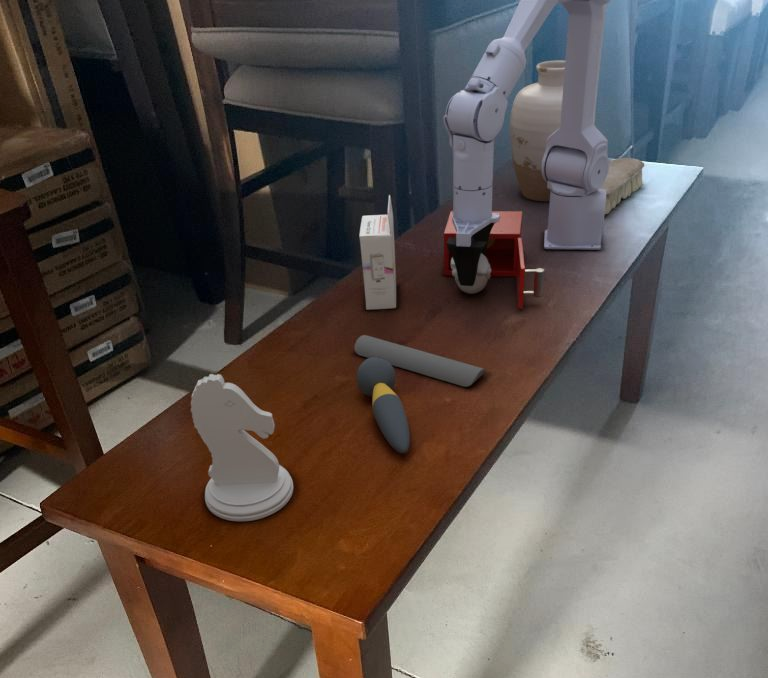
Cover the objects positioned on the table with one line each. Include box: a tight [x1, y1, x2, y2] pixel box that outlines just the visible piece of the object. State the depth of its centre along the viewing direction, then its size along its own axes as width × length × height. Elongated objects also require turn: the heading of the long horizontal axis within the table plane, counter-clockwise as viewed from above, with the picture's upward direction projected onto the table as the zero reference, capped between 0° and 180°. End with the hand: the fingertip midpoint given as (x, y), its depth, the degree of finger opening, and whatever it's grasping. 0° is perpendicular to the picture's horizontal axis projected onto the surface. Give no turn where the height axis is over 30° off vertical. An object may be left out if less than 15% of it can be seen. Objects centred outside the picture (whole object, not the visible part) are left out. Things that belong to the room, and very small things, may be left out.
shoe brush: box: [599, 157, 645, 215], centre depth 148 cm, size 24×8×5 cm, turn 147°
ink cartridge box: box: [358, 194, 397, 311], centre depth 118 cm, size 9×5×15 cm, turn 179°
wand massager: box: [356, 357, 411, 454], centre depth 95 cm, size 20×5×5 cm, turn 17°
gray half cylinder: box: [354, 334, 487, 387], centre depth 105 cm, size 4×20×2 cm, turn 55°
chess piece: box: [190, 373, 294, 522], centre depth 81 cm, size 10×10×15 cm
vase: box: [509, 59, 596, 202], centre depth 147 cm, size 16×16×23 cm
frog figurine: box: [451, 253, 492, 295], centre depth 120 cm, size 6×7×7 cm
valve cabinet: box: [443, 210, 523, 277], centre depth 128 cm, size 12×10×7 cm
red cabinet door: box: [515, 237, 546, 309], centre depth 118 cm, size 12×4×6 cm, turn 175°
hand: (471, 274), depth 120 cm, fingers open, 7 cm apart
